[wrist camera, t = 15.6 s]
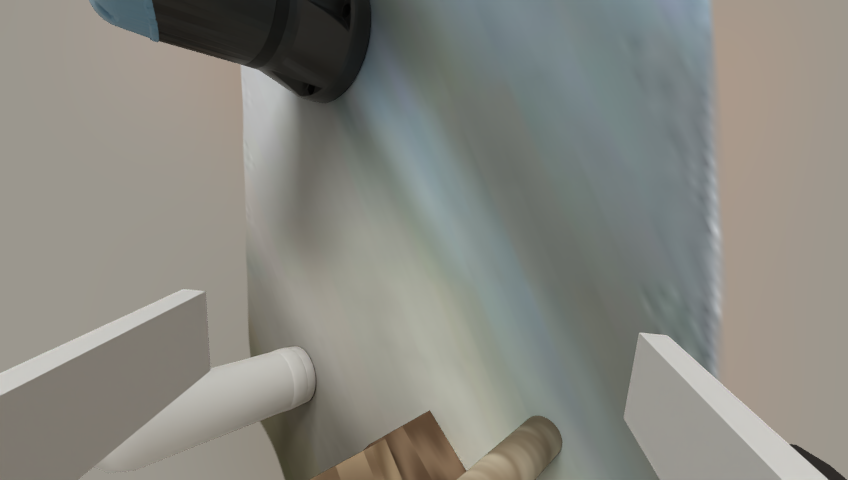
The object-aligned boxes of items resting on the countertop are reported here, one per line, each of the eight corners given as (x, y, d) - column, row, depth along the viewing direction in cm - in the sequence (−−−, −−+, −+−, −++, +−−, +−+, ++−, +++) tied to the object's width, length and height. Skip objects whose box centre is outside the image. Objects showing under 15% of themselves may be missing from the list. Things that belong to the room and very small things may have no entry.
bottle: (324, 388, 52) (-23, 520, 29) (299, 412, 56) (-22, 544, 33) (301, 334, 55) (-30, 415, 32) (279, 360, 59) (-28, 449, 36)
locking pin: (517, 428, 34) (402, 524, 23) (541, 408, 32) (431, 501, 22) (543, 463, 32) (435, 584, 22) (570, 444, 31) (468, 564, 20)
